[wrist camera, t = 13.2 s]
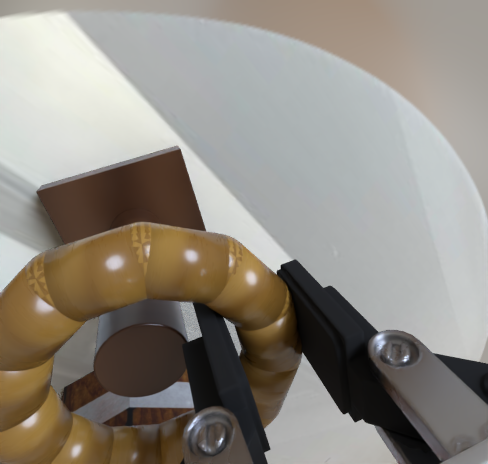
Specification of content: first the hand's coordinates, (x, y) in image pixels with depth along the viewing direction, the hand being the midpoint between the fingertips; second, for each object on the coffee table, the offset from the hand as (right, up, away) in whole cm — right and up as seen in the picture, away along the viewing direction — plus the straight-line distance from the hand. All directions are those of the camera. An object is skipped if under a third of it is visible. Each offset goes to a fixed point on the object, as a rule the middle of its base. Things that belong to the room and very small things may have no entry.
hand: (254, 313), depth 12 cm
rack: (-7, +3, +10) cm, 13 cm away
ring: (-3, -1, -1) cm, 4 cm away
